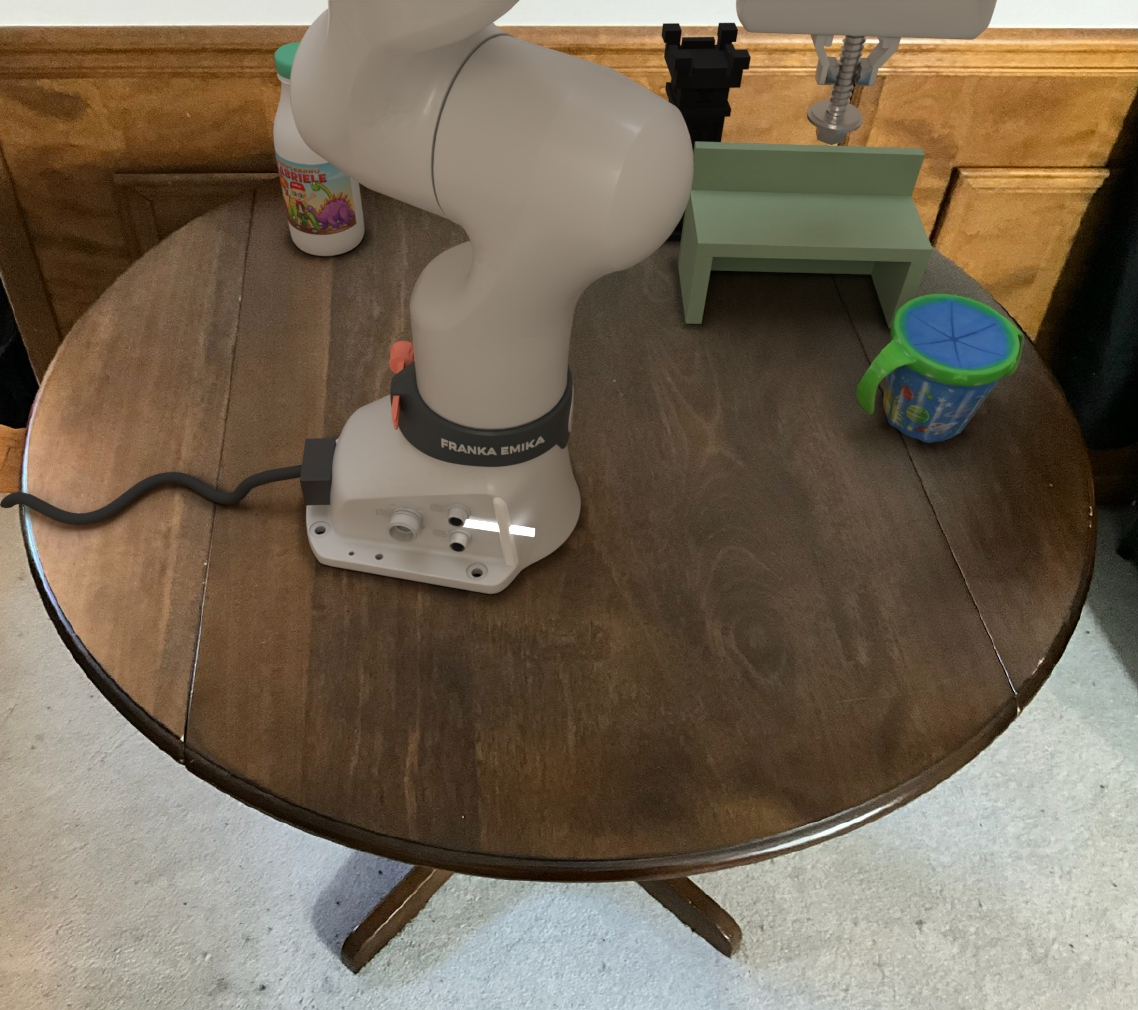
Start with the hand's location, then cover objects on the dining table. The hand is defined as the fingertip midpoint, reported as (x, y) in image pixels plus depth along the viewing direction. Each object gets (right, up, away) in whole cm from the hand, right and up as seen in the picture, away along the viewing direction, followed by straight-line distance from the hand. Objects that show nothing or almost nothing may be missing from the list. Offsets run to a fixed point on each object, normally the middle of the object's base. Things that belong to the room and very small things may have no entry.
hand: (844, 82), depth 88 cm
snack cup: (+9, -28, +7) cm, 30 cm away
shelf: (-1, -14, +18) cm, 23 cm away
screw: (0, -3, +4) cm, 5 cm away
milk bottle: (-49, -8, +22) cm, 54 cm away
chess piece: (-11, -5, +27) cm, 29 cm away
